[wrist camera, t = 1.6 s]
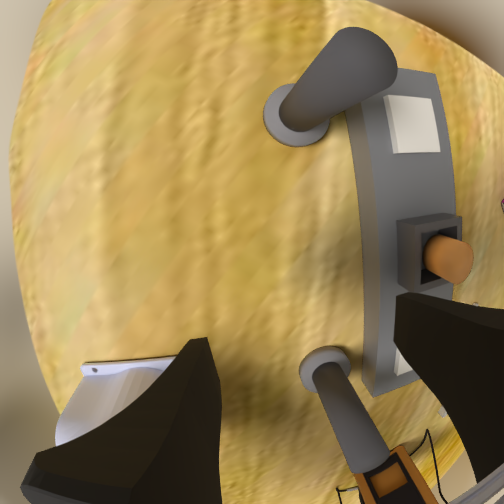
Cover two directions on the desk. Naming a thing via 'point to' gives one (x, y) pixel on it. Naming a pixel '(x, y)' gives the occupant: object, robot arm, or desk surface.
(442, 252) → the breaker button
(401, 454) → the multimeter
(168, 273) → the desk surface
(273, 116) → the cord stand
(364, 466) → the cord stand
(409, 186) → the power strip
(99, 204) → the desk surface
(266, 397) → the desk surface
